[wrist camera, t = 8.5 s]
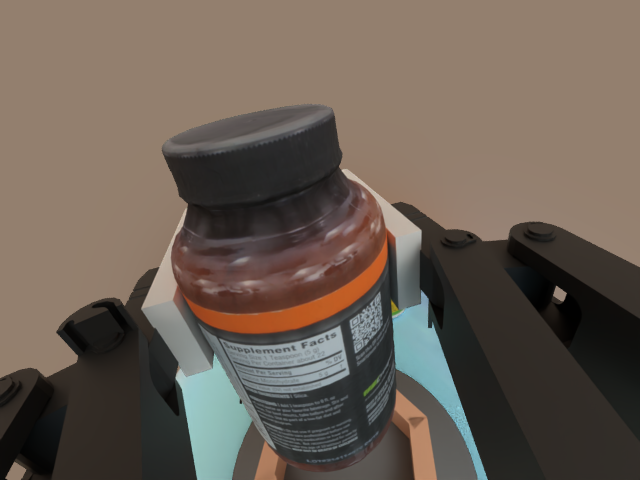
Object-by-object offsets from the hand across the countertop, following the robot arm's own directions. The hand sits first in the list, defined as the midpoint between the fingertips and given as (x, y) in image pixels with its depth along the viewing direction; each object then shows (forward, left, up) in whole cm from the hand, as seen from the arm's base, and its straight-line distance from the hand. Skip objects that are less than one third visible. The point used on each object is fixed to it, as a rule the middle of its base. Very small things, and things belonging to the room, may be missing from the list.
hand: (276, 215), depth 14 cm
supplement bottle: (+2, +5, -7) cm, 8 cm away
